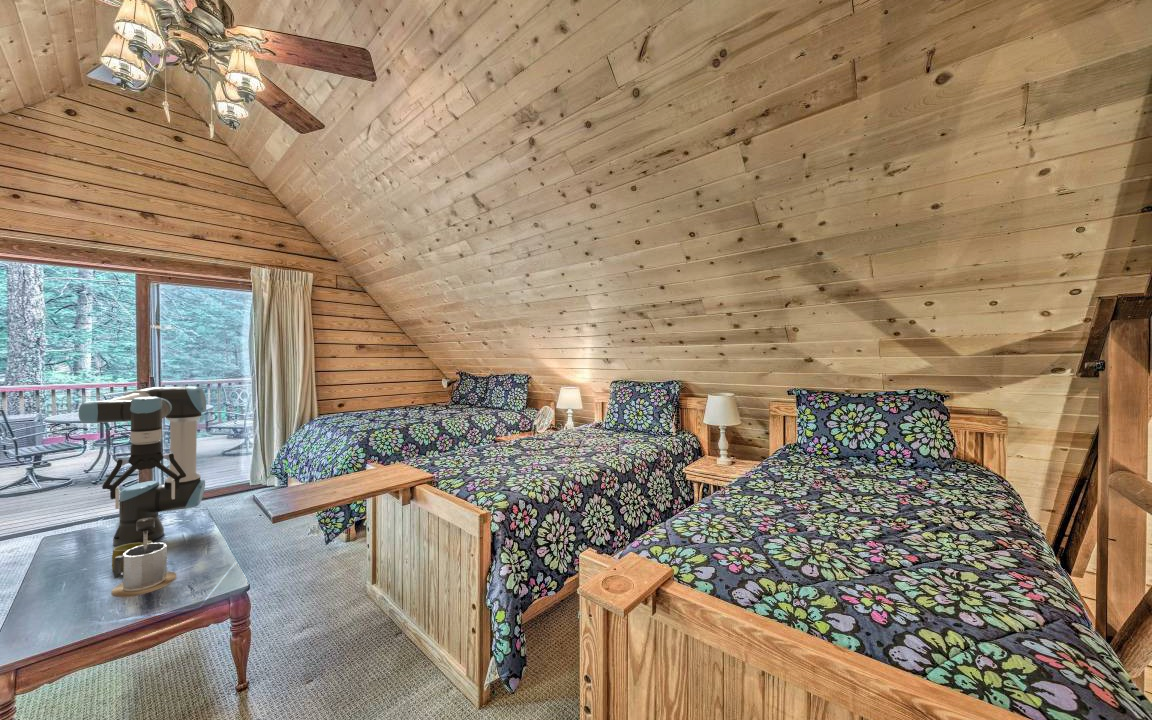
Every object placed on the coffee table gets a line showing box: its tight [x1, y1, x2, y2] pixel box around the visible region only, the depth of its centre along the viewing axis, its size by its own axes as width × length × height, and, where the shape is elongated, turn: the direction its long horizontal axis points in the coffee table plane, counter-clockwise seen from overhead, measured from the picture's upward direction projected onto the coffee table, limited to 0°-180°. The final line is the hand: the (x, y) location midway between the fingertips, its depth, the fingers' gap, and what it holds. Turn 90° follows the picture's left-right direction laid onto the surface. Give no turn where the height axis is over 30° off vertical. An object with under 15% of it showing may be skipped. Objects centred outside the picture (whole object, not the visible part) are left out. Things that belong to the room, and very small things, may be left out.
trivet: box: [110, 571, 178, 598], centre depth 147 cm, size 16×16×1 cm
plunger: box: [136, 517, 155, 555], centre depth 147 cm, size 7×7×20 cm
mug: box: [111, 540, 154, 573], centre depth 159 cm, size 12×10×10 cm
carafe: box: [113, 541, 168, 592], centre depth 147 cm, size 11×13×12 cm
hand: (146, 502), depth 147 cm, fingers open, 13 cm apart
